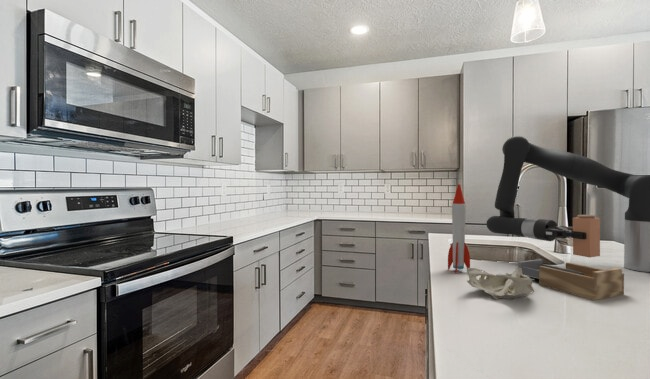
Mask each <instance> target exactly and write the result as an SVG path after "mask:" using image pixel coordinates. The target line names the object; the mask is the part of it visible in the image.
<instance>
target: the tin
mask: <svg viewBox="0 0 650 379" xmlns="http://www.w3.org/2000/svg"><path fill="white" fill-rule="evenodd" d="M572 227H573V231H577V232H585V233H586V239H576V238H572V255H573V256H579V257H580V256H581V257H585V258H596V257H601V218H600V217H596V216H595V215H594V214H577V216H576V217H572Z"/></svg>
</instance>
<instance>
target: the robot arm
mask: <svg viewBox="0 0 650 379" xmlns="http://www.w3.org/2000/svg"><path fill="white" fill-rule="evenodd" d="M501 149H502V154H503V155H504V156H503V168H502V173H501V177H500V180H499V183H498V186H497V192H496V196H495V201H494V208H495V209H496V210H498V211H499V215H492V216H490V217H488V219H487V220H486V223H485V224H486V228H487V230H488V231H490V232H491V233H494V234H502V235H511V236H516V237H523V238H528V239H531V240H537V241H546V242H553V241H555V240H556V239H564V240H566V239H570V240H571V239H573V238H576V239H586V233H585V232H577V231H573V226H566V225H558V223H557V222H556V221H555V220H553V219H543V218H523V217H515V205H516V204H515V203H516V199H517V193H518V187H519V182H520V176H521V172H522V168H523V166H524V163H526V164H530V165H532V166H537V167H539V168H541V169H543V170H546V171H548V172H550V173H553V174H556V175H559V176H561V177H564V178H567V179H569V180H572V181H576V182H580V183H582V184H587V185H591V186H595V187H598V188H599V187H600V188H603V189H606V190H609V191H610V192H613V193H615V194H616V193H617V194H618V195H620V196H623V197H624V198H627V199H628V206H627V210H626V211H625V212H624V239H623V240H624V242H623V244H624V246H623V252H624V253H623V267H624V268H625V269H628V270H632V271H637V272H644V273H645V272H646V273H650V174H641V175H640V174H632V173H629V172H628V173H627V172H623V171H619V170H615V169H613V168H610V167H608V166H606V165H604V164H602V163H601V162H599V161H596V160H594V159H592V158H589V157H586V156H584V155H583V156H582V155H580V154H576V153H572V152H569V151H564V150H558V149H552V148H545V147H542V146H539V145H536V144H534V143H531V142H529V140H528V139H527V138H525V136H521V135H514V136H511V137H509V138H507V140H505V142H504V143H503V145H502V148H501Z"/></svg>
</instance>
